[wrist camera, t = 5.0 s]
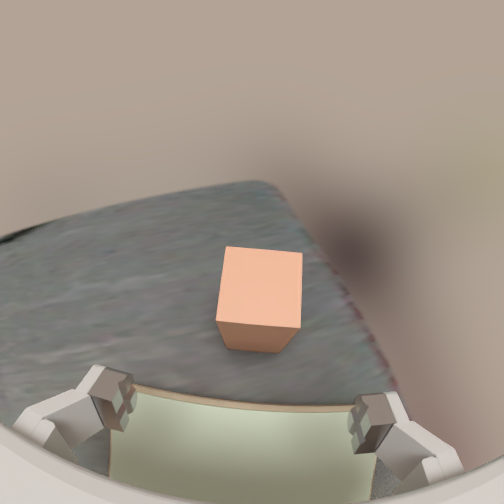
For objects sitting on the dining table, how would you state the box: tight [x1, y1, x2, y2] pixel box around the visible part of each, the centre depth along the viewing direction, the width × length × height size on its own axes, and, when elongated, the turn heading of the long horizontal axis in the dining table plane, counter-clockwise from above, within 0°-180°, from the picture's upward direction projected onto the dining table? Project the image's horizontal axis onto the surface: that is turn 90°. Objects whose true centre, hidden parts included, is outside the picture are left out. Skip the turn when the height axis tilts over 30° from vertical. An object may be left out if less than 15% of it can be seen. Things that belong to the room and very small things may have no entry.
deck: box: [108, 383, 377, 504], centre depth 15 cm, size 12×18×4 cm, turn 85°
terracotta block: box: [216, 246, 302, 353], centre depth 18 cm, size 4×4×9 cm
